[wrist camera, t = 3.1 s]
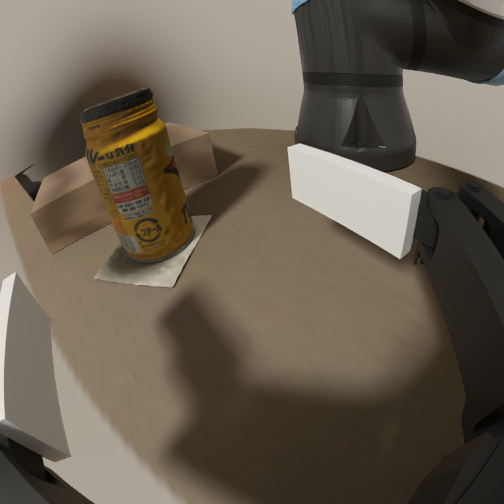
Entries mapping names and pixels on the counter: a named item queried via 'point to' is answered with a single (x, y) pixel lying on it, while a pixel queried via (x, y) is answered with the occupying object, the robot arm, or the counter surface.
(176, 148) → the stand
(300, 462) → the counter surface
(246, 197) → the counter surface
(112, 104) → the condiment
